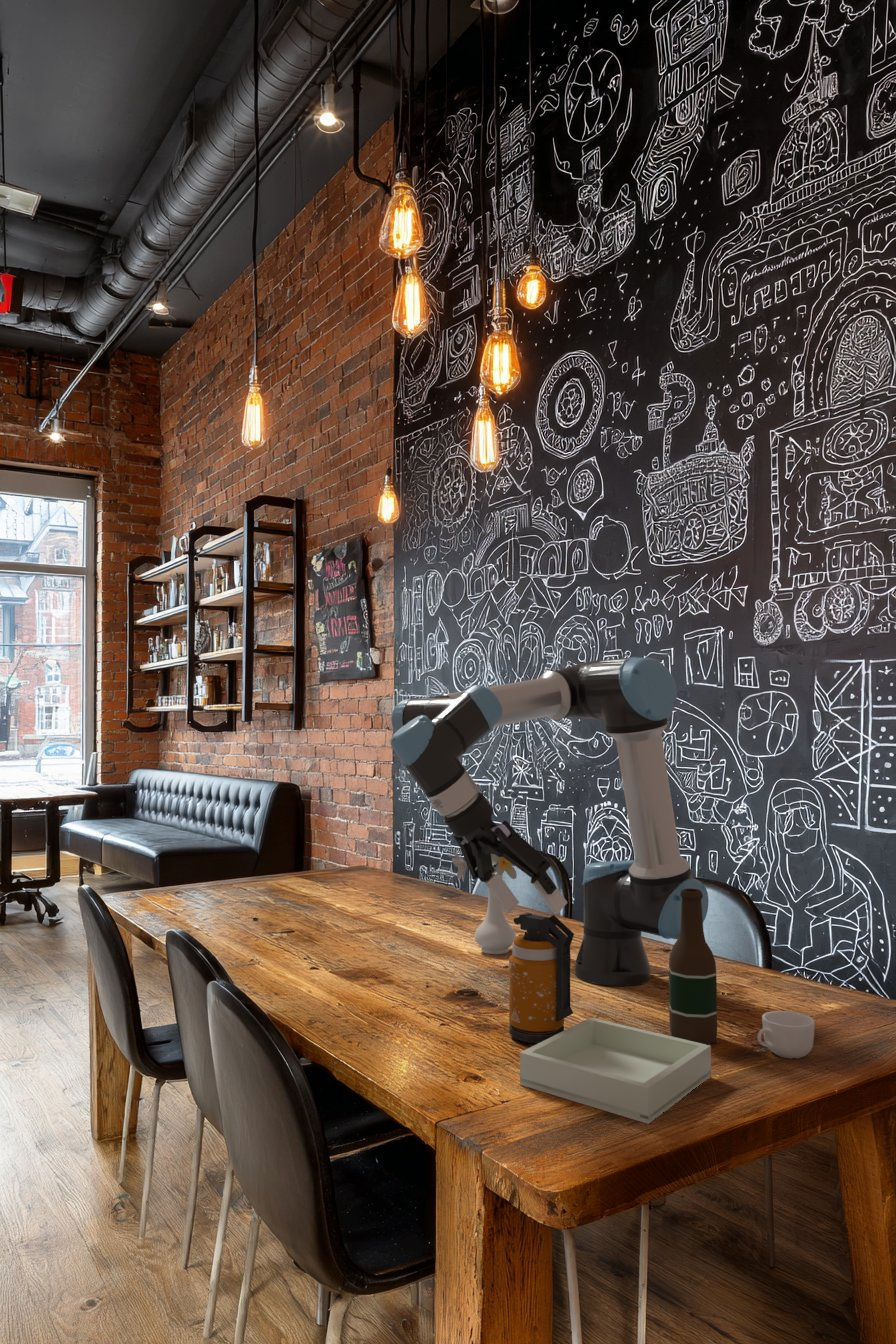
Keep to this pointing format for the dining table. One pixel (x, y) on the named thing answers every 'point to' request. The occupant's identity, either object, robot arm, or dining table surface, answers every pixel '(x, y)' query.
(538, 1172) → the dining table surface
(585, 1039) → the tray
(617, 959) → the robot arm
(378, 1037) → the dining table surface
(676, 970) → the beer bottle
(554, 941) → the canister
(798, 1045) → the teacup
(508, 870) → the flower vase
